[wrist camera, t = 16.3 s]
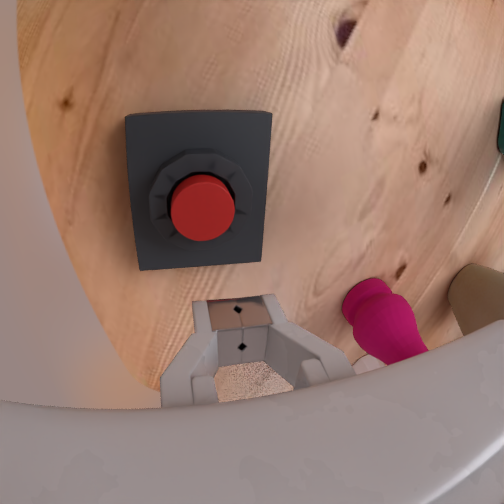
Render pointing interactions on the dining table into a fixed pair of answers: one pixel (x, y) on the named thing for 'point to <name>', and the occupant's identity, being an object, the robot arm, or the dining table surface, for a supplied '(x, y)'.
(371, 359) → the pepper shaker
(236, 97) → the dining table surface
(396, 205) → the dining table surface
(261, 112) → the block
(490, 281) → the plant pot
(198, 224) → the bell button
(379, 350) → the pepper mill
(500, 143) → the pitcher
